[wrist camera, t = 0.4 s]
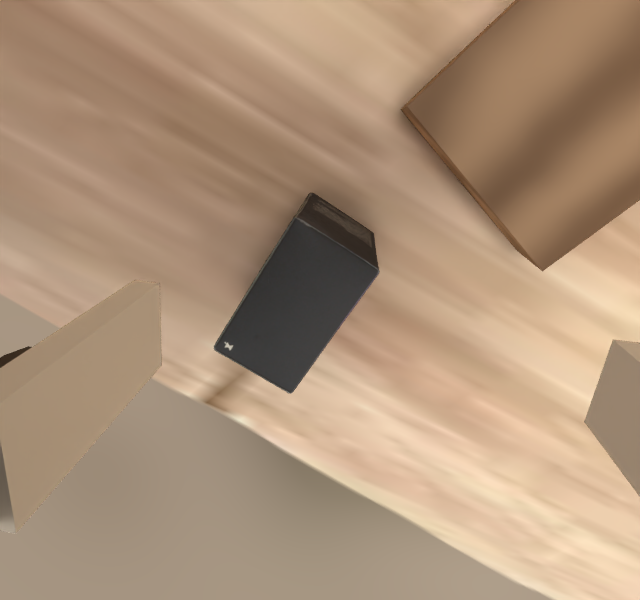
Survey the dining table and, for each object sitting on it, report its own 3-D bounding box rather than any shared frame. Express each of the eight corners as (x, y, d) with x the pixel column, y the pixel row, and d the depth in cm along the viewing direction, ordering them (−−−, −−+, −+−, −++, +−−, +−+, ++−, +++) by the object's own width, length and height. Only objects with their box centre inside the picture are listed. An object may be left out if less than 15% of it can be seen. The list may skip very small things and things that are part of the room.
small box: (309, 335, 41) (292, 401, 31) (244, 295, 40) (206, 350, 30) (379, 234, 37) (385, 274, 28) (310, 189, 37) (290, 212, 27)
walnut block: (400, 109, 34) (407, 106, 29) (570, -53, 30) (617, -93, 25) (515, 249, 37) (542, 271, 32) (686, 118, 33) (752, 117, 27)
